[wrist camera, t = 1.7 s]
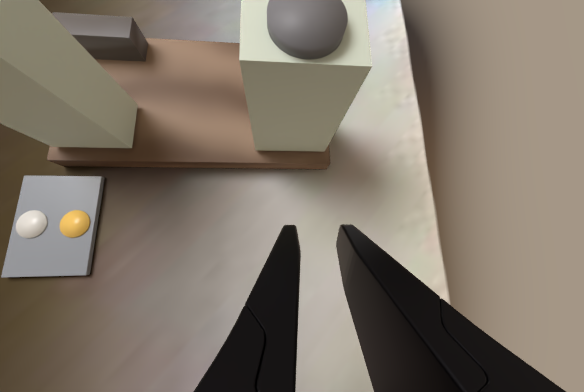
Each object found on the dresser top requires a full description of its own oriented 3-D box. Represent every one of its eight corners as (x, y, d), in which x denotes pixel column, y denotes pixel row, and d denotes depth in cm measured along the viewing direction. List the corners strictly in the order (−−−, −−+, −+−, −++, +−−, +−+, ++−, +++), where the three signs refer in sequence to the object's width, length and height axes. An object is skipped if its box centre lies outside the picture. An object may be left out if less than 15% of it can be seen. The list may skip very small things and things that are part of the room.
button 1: (324, 151, 20) (377, 56, 10) (255, 150, 20) (237, 48, 10) (322, 110, 21) (369, -17, 11) (256, 108, 21) (240, -28, 10)
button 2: (131, 148, 19) (-33, 34, 9) (52, 146, 19) (-220, 24, 8) (137, 104, 20) (-7, -47, 10) (62, 101, 20) (-176, -60, 9)
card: (89, 274, 19) (84, 275, 18) (7, 276, 18) (-1, 277, 18) (104, 177, 20) (100, 175, 20) (29, 177, 20) (22, 175, 19)
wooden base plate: (326, 169, 22) (337, 152, 18) (63, 166, 20) (13, 147, 16) (320, 59, 25) (330, 24, 21) (86, 47, 23) (47, 6, 19)
